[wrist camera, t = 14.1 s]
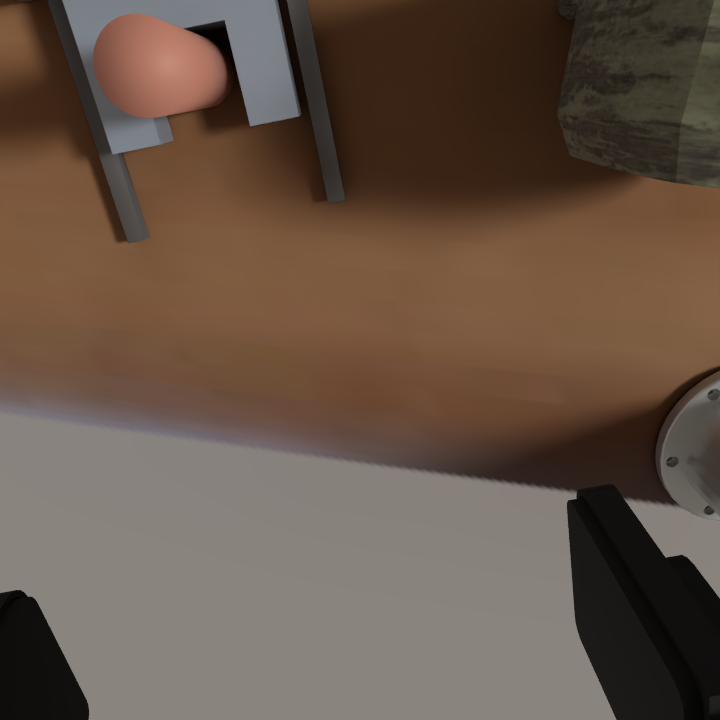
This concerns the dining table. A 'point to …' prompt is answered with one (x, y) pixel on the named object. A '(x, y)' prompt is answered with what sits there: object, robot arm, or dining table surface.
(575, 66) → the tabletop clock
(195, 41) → the dowel
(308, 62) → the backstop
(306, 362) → the dining table surface
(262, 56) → the block
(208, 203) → the dining table surface
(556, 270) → the dining table surface
